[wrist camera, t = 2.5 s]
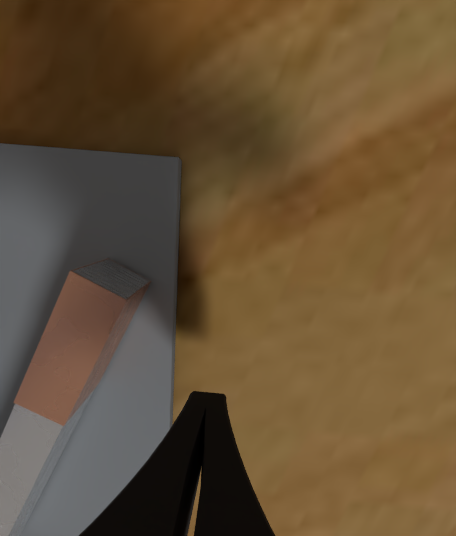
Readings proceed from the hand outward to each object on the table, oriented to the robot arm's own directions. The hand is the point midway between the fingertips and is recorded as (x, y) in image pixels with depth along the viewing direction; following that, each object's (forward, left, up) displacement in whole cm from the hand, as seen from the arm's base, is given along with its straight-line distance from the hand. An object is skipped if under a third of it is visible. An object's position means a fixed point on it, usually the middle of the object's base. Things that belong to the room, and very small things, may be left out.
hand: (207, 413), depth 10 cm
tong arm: (-9, -4, -2) cm, 10 cm away
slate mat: (-9, -2, -3) cm, 10 cm away
